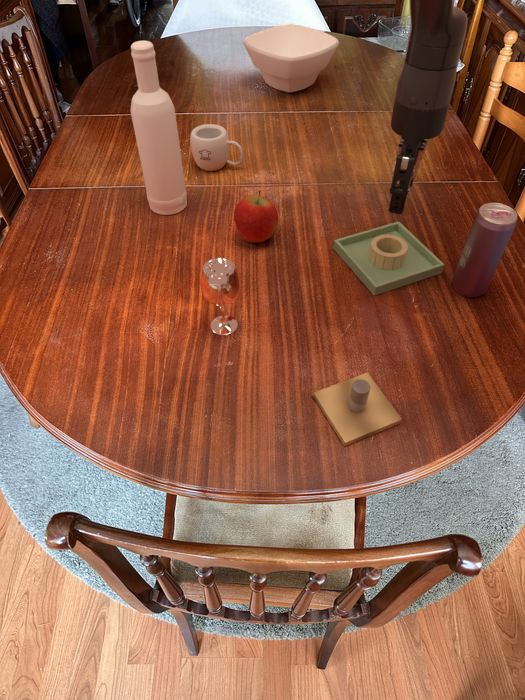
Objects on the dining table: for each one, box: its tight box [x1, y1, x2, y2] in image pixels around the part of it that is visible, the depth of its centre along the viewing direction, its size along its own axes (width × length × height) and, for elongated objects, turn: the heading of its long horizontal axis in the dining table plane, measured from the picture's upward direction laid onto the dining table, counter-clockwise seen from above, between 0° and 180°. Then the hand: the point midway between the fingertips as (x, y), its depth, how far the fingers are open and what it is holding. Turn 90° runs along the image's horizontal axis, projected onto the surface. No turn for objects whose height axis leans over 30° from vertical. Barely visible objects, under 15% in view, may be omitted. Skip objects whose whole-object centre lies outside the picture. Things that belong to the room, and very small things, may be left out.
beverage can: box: [451, 202, 518, 298], centre depth 82 cm, size 6×6×15 cm
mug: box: [189, 123, 244, 172], centre depth 112 cm, size 12×8×8 cm
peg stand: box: [312, 372, 403, 447], centre depth 69 cm, size 9×9×6 cm
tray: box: [333, 221, 445, 296], centre depth 92 cm, size 14×14×2 cm
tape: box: [369, 234, 408, 270], centre depth 91 cm, size 6×6×3 cm
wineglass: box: [200, 257, 241, 336], centre depth 78 cm, size 6×6×12 cm
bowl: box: [242, 23, 340, 93], centre depth 139 cm, size 22×22×12 cm
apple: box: [233, 190, 279, 244], centre depth 94 cm, size 8×8×10 cm
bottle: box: [130, 40, 188, 216], centre depth 94 cm, size 8×8×30 cm
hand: (400, 198), depth 83 cm, fingers open, 8 cm apart
